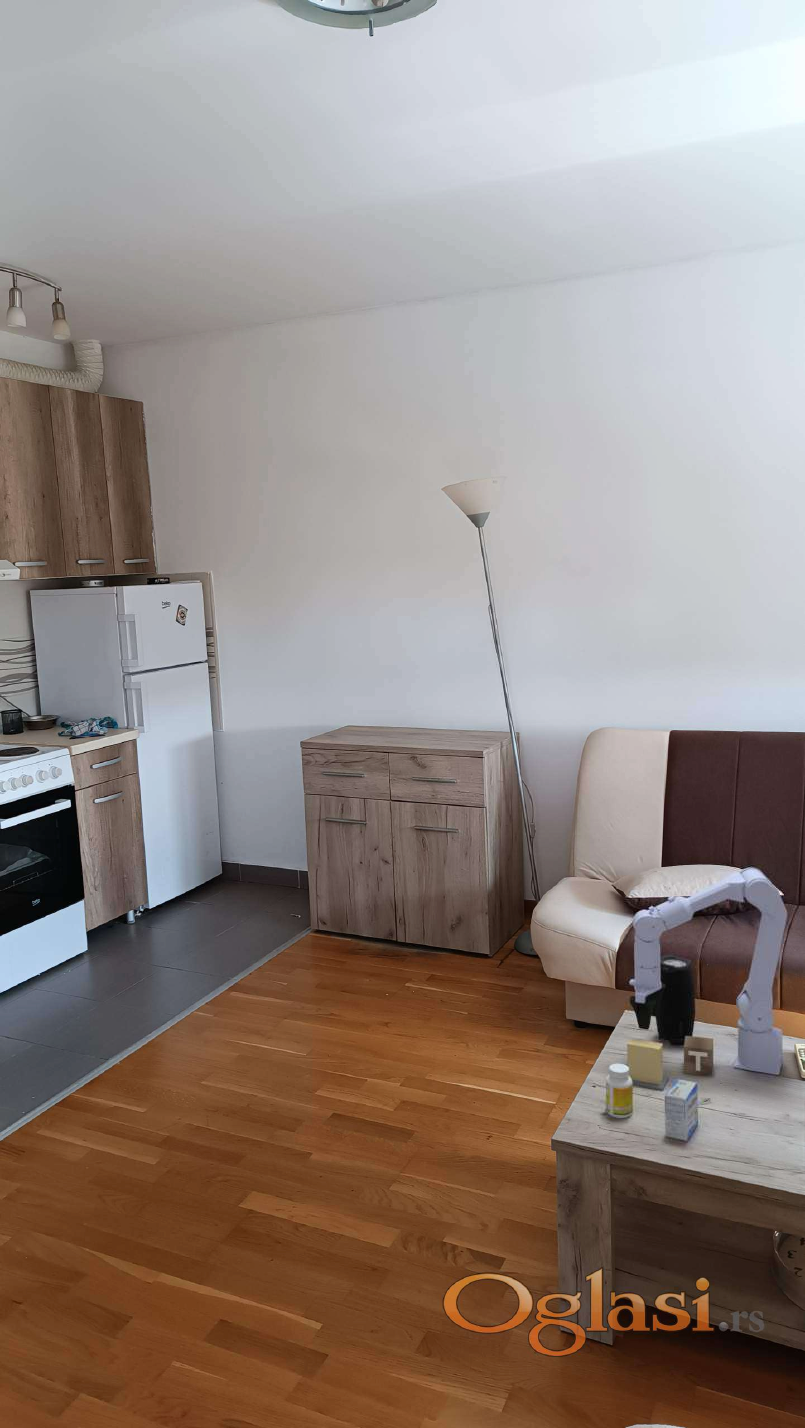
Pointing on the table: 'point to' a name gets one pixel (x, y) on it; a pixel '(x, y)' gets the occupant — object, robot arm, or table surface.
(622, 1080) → the supplement bottle
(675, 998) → the portable speaker
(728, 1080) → the table surface
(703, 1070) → the letter cube
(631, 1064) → the cream rectangular block
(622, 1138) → the table surface
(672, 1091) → the medicine box
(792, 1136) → the table surface
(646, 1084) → the mat
